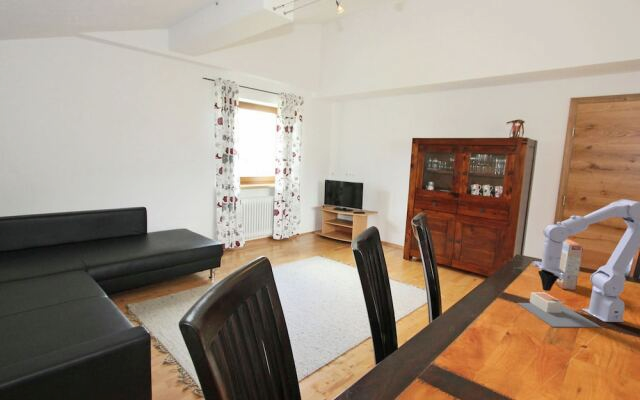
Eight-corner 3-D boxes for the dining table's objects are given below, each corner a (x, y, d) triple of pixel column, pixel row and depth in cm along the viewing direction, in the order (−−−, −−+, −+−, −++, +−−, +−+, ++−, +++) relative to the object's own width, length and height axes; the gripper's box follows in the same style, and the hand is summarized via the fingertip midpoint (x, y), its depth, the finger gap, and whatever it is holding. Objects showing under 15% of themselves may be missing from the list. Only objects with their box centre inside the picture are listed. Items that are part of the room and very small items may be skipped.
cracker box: (576, 291, 150) (584, 245, 147) (561, 289, 151) (568, 244, 148) (561, 279, 163) (567, 237, 160) (547, 278, 164) (553, 236, 161)
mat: (600, 327, 117) (600, 326, 117) (552, 327, 115) (552, 326, 115) (559, 304, 134) (559, 303, 134) (517, 303, 133) (517, 302, 133)
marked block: (543, 302, 135) (561, 312, 126) (529, 301, 134) (546, 312, 125) (545, 292, 134) (563, 302, 125) (531, 292, 134) (548, 302, 125)
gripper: (528, 250, 135) (523, 282, 136) (556, 262, 120) (551, 298, 122) (544, 250, 135) (539, 283, 137) (575, 262, 121) (569, 298, 123)
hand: (546, 290), depth 130 cm, fingers closed
